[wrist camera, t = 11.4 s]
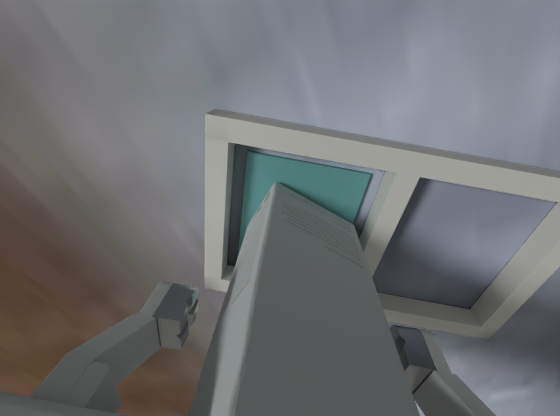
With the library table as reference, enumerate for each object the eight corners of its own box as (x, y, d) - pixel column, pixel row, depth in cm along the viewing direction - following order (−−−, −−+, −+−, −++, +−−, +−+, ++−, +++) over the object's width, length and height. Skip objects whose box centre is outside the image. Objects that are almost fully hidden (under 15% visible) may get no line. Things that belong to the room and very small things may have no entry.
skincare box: (245, 227, 17) (152, 480, 7) (277, 174, 15) (211, 426, 5) (322, 265, 18) (340, 535, 8) (362, 221, 16) (458, 511, 6)
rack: (602, 179, 14) (632, 191, 12) (447, 355, 23) (455, 373, 21) (214, 108, 14) (205, 113, 13) (210, 312, 23) (204, 327, 21)
